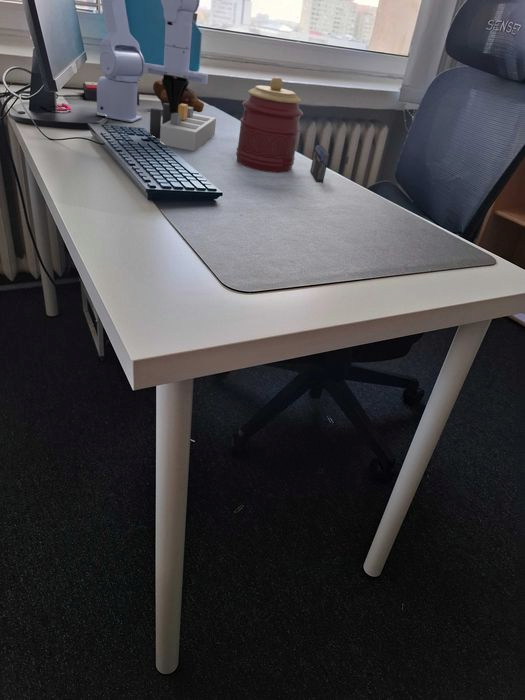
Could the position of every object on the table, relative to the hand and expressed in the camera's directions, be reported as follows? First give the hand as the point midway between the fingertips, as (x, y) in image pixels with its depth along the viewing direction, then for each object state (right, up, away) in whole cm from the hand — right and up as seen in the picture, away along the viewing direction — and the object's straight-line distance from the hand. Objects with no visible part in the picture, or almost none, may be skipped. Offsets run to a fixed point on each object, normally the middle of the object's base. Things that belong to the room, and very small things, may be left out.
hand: (173, 112), depth 121 cm
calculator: (-24, +18, +31) cm, 44 cm away
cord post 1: (-4, -6, -1) cm, 8 cm away
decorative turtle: (-4, +13, +29) cm, 32 cm away
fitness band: (-31, +4, +7) cm, 32 cm away
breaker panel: (+3, -5, +3) cm, 7 cm away
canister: (+21, -15, -7) cm, 27 cm away
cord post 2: (-3, -1, +7) cm, 8 cm away
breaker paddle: (+2, -1, 0) cm, 2 cm away
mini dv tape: (+33, -19, -9) cm, 39 cm away
